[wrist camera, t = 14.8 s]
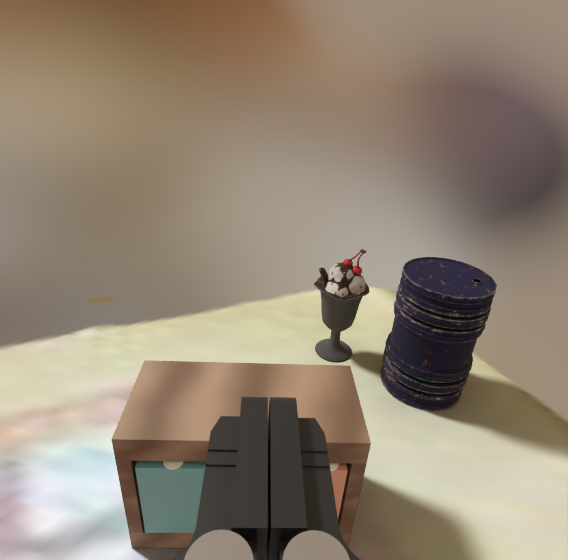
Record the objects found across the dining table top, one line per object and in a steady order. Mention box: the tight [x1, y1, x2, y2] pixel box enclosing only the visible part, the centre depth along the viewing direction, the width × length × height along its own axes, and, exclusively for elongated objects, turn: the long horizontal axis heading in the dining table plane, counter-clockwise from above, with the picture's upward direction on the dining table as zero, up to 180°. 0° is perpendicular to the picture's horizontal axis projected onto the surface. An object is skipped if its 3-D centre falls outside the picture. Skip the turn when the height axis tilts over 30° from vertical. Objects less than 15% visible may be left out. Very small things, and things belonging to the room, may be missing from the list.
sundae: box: [314, 250, 369, 362], centre depth 53 cm, size 7×7×15 cm
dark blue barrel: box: [381, 257, 497, 411], centre depth 48 cm, size 10×10×15 cm
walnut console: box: [112, 361, 371, 548], centre depth 34 cm, size 17×8×12 cm, turn 92°
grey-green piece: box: [135, 461, 206, 533], centre depth 32 cm, size 5×6×7 cm
